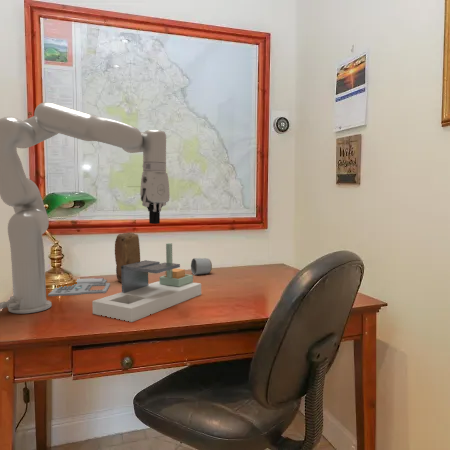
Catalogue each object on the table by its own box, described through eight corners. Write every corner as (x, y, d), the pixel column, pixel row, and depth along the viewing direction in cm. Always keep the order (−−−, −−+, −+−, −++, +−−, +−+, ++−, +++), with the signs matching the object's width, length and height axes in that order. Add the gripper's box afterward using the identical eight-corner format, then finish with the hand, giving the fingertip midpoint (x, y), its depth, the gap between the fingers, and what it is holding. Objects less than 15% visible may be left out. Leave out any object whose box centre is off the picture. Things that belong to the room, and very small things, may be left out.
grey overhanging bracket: (157, 298, 128) (156, 270, 128) (121, 292, 136) (121, 265, 135) (180, 290, 139) (179, 264, 138) (146, 285, 146) (145, 260, 145)
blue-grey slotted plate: (62, 277, 170) (112, 275, 173) (63, 283, 170) (112, 281, 173) (47, 290, 147) (105, 288, 150) (48, 297, 147) (105, 295, 150)
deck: (131, 322, 118) (131, 308, 118) (92, 313, 126) (92, 301, 126) (201, 294, 149) (201, 283, 149) (166, 289, 157) (166, 278, 157)
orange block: (176, 285, 145) (176, 271, 145) (165, 284, 148) (165, 270, 147) (185, 283, 149) (185, 269, 149) (174, 281, 152) (174, 268, 152)
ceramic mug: (213, 274, 184) (212, 258, 183) (196, 276, 180) (196, 259, 179) (203, 271, 193) (203, 255, 192) (187, 272, 189) (187, 256, 188)
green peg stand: (178, 286, 143) (177, 244, 142) (158, 284, 147) (158, 243, 146) (193, 281, 151) (192, 241, 149) (174, 279, 155) (173, 240, 154)
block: (142, 282, 168) (141, 234, 167) (125, 285, 163) (124, 235, 162) (129, 278, 177) (128, 231, 175) (113, 280, 172) (111, 233, 170)
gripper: (148, 167, 128) (148, 225, 129) (177, 169, 141) (177, 222, 142) (130, 167, 132) (130, 224, 133) (160, 169, 145) (160, 221, 146)
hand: (154, 223), depth 138 cm, fingers closed
